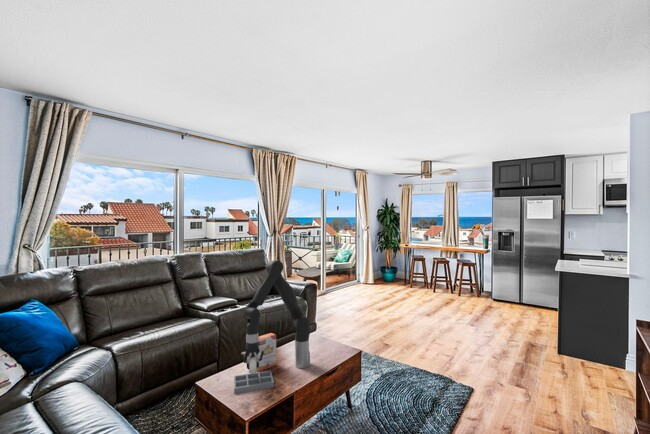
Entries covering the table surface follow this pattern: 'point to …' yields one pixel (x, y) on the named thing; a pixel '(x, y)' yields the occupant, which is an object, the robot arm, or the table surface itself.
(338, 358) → the table surface
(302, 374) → the table surface
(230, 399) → the table surface
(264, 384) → the egg tray
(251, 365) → the egg
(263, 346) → the cracker box
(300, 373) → the table surface
